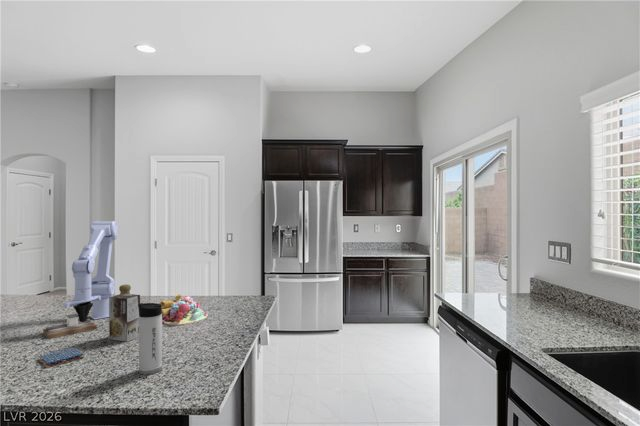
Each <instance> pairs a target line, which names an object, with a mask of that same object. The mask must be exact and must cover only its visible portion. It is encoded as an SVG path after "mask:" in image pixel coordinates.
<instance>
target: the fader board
mask: <svg viewBox="0 0 640 426" xmlns="http://www.w3.org/2000/svg"><path fill="white" fill-rule="evenodd" d="M97 329H98V325H97V324H96V323H95V322H94V321H92V320H91V319H90V318H87V320H86V321H85V322H80V320H78V325H75V326H70V327H67V323H62V324H58V325H51V326H46V327H45V328H43V329H42V333H43V334H44V335H43V336H44V337H46V338H47V339H48V340H50V339H55V338H60V337H64V336H70V335H74V334H79V333H83V332H88V331H93V330H97Z"/></svg>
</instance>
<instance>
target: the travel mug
mask: <svg viewBox="0 0 640 426" xmlns="http://www.w3.org/2000/svg"><path fill="white" fill-rule="evenodd" d="M138 307H139V337H138V373H139V374H141V375H152V374H156V373H159V372H160V371H161V370H162V368H163V323H162V306H161V305H160V304H159V303H154V302H145V303H143V302H140V304H139V305H138Z"/></svg>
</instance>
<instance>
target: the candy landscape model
mask: <svg viewBox="0 0 640 426" xmlns="http://www.w3.org/2000/svg"><path fill="white" fill-rule="evenodd" d="M158 304H160V305H161V307H162V324H164V325H166V326H173V327H174V326H186V325H190V324H193V323H198V322H200V321H203V320H205V318H206V319H207V317H208V312H207V311H204V310H203V308H201V305H200V303H199V301H198V298H196V299H195V301H194V298H193V297H190V296H185V297H183V296H182V294H176V295H175V299H173V300H162V301H161V302H159V303H158Z"/></svg>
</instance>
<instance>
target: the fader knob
mask: <svg viewBox="0 0 640 426" xmlns="http://www.w3.org/2000/svg"><path fill="white" fill-rule="evenodd" d="M78 321H79V316H78V314H77V313H73V314H72V313H71V314H66V324H67V327H70V326H75V325H78Z"/></svg>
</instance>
